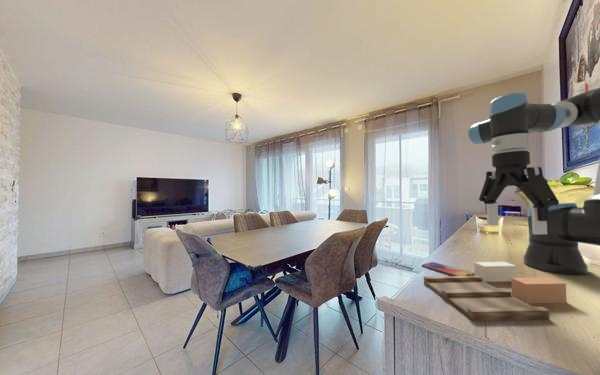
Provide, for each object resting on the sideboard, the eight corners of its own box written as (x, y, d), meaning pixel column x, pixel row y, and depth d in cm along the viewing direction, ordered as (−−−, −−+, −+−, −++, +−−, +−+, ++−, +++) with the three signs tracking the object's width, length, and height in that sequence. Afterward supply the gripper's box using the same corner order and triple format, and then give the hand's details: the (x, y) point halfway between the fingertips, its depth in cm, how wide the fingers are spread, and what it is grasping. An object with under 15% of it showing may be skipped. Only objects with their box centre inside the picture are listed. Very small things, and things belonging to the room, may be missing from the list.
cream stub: (505, 276, 72) (504, 261, 73) (517, 281, 68) (516, 265, 69) (474, 277, 73) (474, 262, 73) (484, 282, 69) (484, 266, 69)
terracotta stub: (549, 295, 59) (548, 277, 60) (566, 303, 55) (565, 283, 56) (511, 296, 60) (511, 278, 60) (526, 303, 56) (526, 284, 56)
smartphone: (432, 264, 87) (432, 261, 87) (476, 276, 74) (476, 273, 74) (420, 267, 84) (420, 265, 84) (463, 280, 70) (463, 277, 70)
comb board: (478, 281, 69) (478, 275, 69) (549, 319, 49) (549, 310, 49) (424, 282, 69) (423, 276, 69) (472, 320, 49) (472, 311, 49)
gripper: (463, 159, 73) (466, 222, 72) (544, 143, 48) (549, 239, 47) (487, 158, 72) (490, 221, 72) (580, 141, 47) (585, 238, 47)
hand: (513, 229), depth 60 cm, fingers open, 13 cm apart
